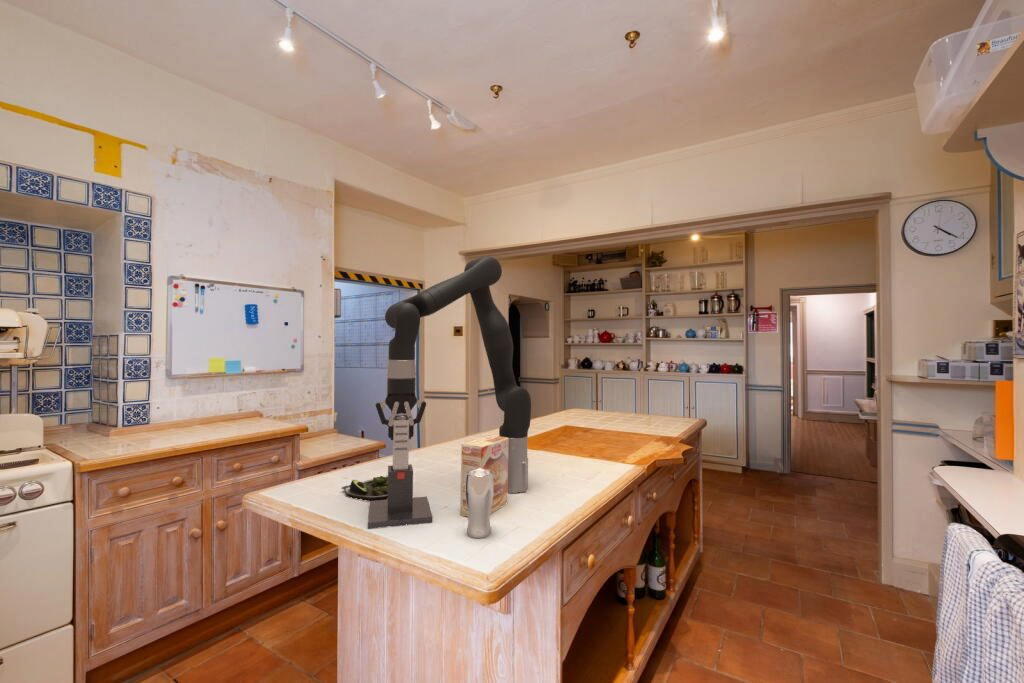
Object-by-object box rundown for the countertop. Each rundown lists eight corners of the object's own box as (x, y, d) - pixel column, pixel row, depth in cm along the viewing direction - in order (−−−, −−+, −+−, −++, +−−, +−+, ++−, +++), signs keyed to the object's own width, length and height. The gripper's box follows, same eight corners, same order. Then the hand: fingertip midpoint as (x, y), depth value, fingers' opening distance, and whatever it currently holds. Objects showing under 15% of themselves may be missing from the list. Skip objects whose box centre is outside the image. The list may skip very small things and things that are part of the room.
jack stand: (426, 501, 131) (427, 459, 131) (432, 522, 116) (433, 474, 116) (369, 506, 127) (370, 462, 127) (367, 528, 111) (368, 478, 112)
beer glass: (464, 527, 113) (465, 468, 113) (492, 527, 113) (493, 468, 114) (464, 539, 106) (465, 476, 106) (493, 539, 107) (494, 476, 107)
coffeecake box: (480, 520, 118) (481, 446, 118) (458, 515, 121) (459, 443, 121) (508, 503, 131) (509, 437, 131) (488, 499, 134) (489, 434, 134)
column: (407, 489, 124) (408, 413, 124) (408, 494, 120) (409, 416, 120) (392, 490, 123) (393, 414, 123) (392, 495, 119) (393, 416, 119)
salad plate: (376, 479, 154) (376, 465, 154) (419, 486, 147) (419, 472, 147) (333, 496, 136) (333, 481, 136) (380, 505, 129) (380, 489, 129)
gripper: (426, 375, 127) (425, 435, 127) (374, 375, 123) (373, 437, 123) (429, 377, 120) (428, 440, 120) (374, 377, 116) (373, 443, 116)
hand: (400, 438), depth 122 cm, fingers closed on column, 4 cm apart
